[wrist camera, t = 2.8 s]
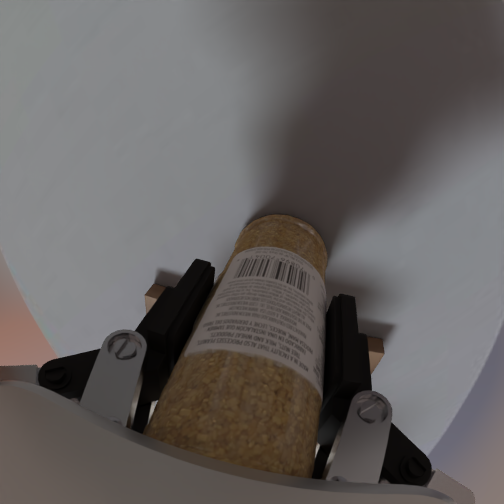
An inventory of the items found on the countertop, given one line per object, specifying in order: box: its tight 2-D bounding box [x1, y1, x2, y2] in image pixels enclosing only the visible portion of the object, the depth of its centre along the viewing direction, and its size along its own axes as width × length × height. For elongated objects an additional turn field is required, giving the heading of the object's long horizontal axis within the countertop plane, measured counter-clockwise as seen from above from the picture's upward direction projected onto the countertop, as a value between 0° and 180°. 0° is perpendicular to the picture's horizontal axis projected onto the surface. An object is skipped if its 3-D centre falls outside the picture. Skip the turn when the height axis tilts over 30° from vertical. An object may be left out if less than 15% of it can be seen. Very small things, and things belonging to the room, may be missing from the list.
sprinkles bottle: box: [143, 214, 327, 479], centre depth 9 cm, size 5×5×14 cm
